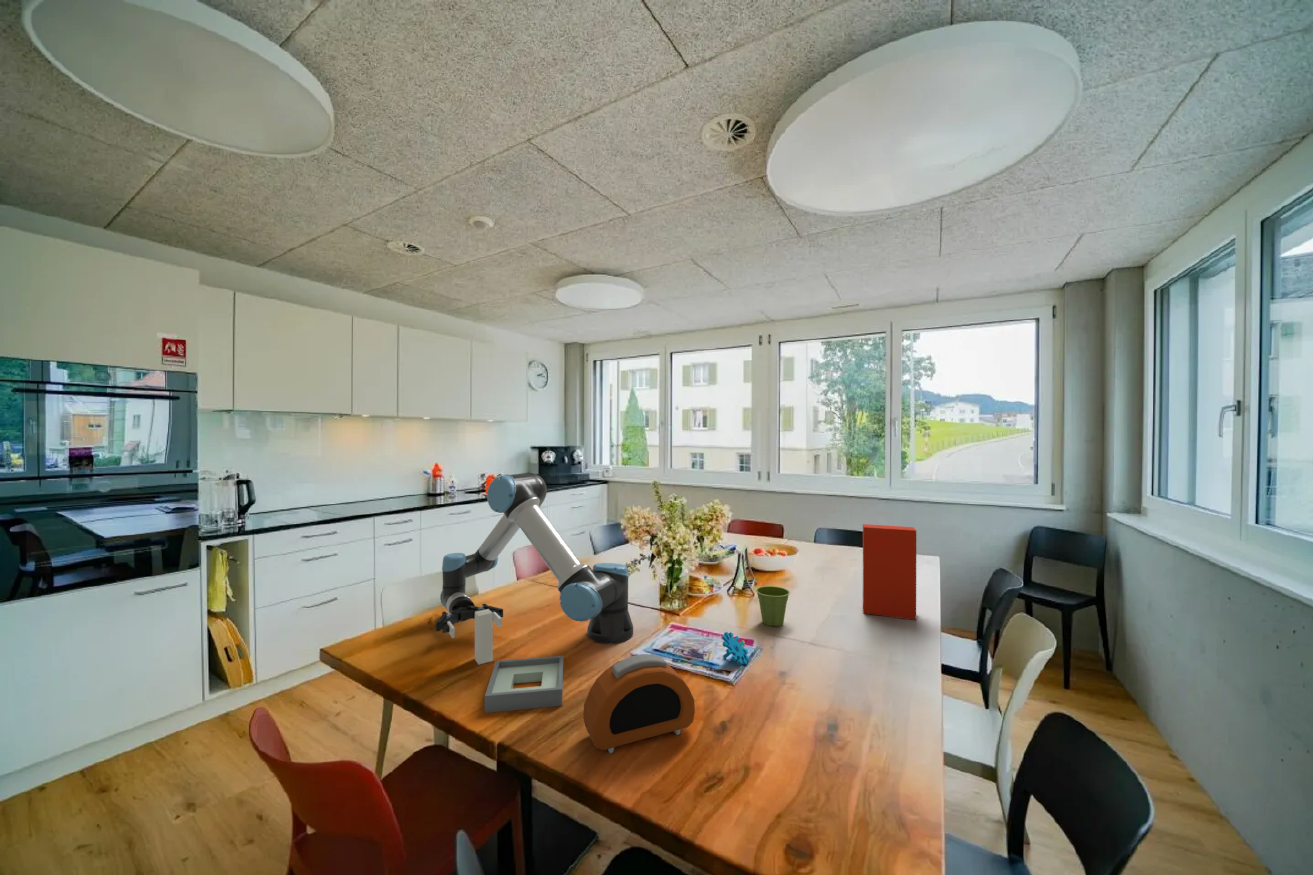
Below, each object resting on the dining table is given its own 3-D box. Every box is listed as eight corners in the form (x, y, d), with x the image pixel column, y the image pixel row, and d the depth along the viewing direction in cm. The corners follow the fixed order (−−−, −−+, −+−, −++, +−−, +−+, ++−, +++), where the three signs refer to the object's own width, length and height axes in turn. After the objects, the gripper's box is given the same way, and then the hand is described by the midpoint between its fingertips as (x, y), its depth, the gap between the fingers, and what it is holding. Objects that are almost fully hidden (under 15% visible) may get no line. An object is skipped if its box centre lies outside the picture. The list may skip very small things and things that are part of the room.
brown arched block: (593, 760, 97) (594, 678, 97) (582, 734, 105) (582, 658, 105) (696, 731, 107) (696, 656, 107) (678, 710, 115) (678, 640, 115)
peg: (488, 655, 143) (488, 608, 143) (492, 660, 140) (492, 612, 140) (474, 659, 141) (474, 611, 141) (478, 664, 138) (478, 615, 137)
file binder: (862, 606, 185) (862, 523, 185) (913, 612, 179) (913, 526, 178) (863, 613, 177) (863, 527, 177) (916, 620, 171) (916, 530, 171)
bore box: (563, 669, 135) (563, 655, 135) (562, 705, 117) (562, 689, 117) (496, 675, 131) (496, 660, 131) (484, 712, 114) (484, 695, 114)
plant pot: (794, 620, 171) (794, 589, 171) (783, 632, 161) (784, 598, 161) (762, 614, 177) (762, 583, 177) (750, 624, 167) (750, 592, 167)
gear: (740, 666, 133) (719, 633, 138) (726, 677, 135) (706, 645, 140) (757, 657, 142) (736, 626, 147) (743, 667, 144) (723, 637, 149)
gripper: (498, 610, 169) (518, 630, 151) (419, 626, 155) (432, 650, 137) (498, 589, 169) (518, 606, 151) (419, 603, 154) (432, 624, 137)
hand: (477, 627), depth 144 cm, fingers open, 13 cm apart
